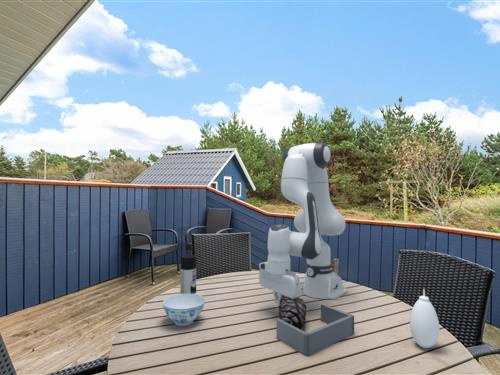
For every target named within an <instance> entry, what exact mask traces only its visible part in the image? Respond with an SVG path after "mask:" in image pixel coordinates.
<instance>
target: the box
mask: <svg viewBox="0 0 500 375" xmlns="http://www.w3.org/2000/svg"><path fill="white" fill-rule="evenodd" d="M320 322H322V323H325V325H322V326H320V327H317V328H316V329H312V330H310V331H308V332H306V331H304V330H303V329H302V330H300V329H298V328H296V327H294V326H292V325H290V324H289V323H287V322H285V321H283V320H281V319H279V318H277V319H276V339H277V340H279V341H281V342H282V343H284V344H285V345H287V346H289V347H290V348H292V349H294V350H296V351H297V352H299V353H300V354H302V355H304V356H306V357H309V356H311V355H313V354H315V353H318V352H319V351H322V350H324V349H325V348H328V347H329V346H332V345H333V344H337V343H338V342H340V341H342V340H344V339H346V338H348V337H350V336H353V335H354V334H355V315H353V314H351V313H347V312H346V311H344V310H343V311H342V310H340V309H338V308H336V307H333V306H329V305H327V304H325V303H322V304H320Z"/></svg>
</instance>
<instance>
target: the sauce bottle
mask: <svg viewBox="0 0 500 375" xmlns="http://www.w3.org/2000/svg"><path fill="white" fill-rule="evenodd" d="M422 291H423V292H422V295H419V297H418V298H419V299H418V300H417V301H416V302H415V303H414V305H413V307H412V309H411V313H410V318H409V329H410V332H411V335H412V338H413V340H414V341H415V343H417V345H418V346H420V347H422V348H423V349H430V348H431V347H434V346H435V345H436V343H437V342H438V340H439V336H440V322H439V317H438V315H437V312H436V309H435V307H434V305H433V304H432V302H431V301H430V298H429V297H428V296H426V291H425V288H423V290H422Z"/></svg>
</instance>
